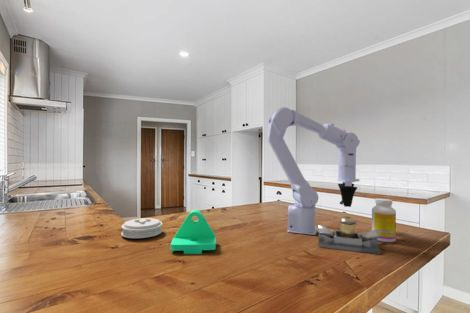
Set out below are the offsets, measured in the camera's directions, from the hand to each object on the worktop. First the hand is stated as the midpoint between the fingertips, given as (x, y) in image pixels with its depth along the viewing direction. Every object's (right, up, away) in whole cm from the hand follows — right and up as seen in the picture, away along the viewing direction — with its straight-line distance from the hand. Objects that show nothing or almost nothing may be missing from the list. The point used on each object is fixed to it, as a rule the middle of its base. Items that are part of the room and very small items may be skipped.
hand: (346, 204), depth 90 cm
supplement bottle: (+8, -10, -9) cm, 15 cm away
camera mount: (-51, -9, -19) cm, 56 cm away
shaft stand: (-6, -9, -15) cm, 19 cm away
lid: (-70, -9, -7) cm, 71 cm away
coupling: (-6, -8, -15) cm, 18 cm away
